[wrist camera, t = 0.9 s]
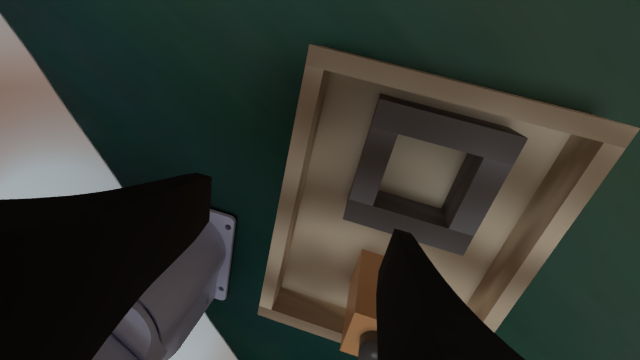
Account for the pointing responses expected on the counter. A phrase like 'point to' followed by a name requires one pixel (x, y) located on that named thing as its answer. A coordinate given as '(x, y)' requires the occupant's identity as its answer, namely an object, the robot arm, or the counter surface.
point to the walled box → (425, 185)
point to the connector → (362, 309)
